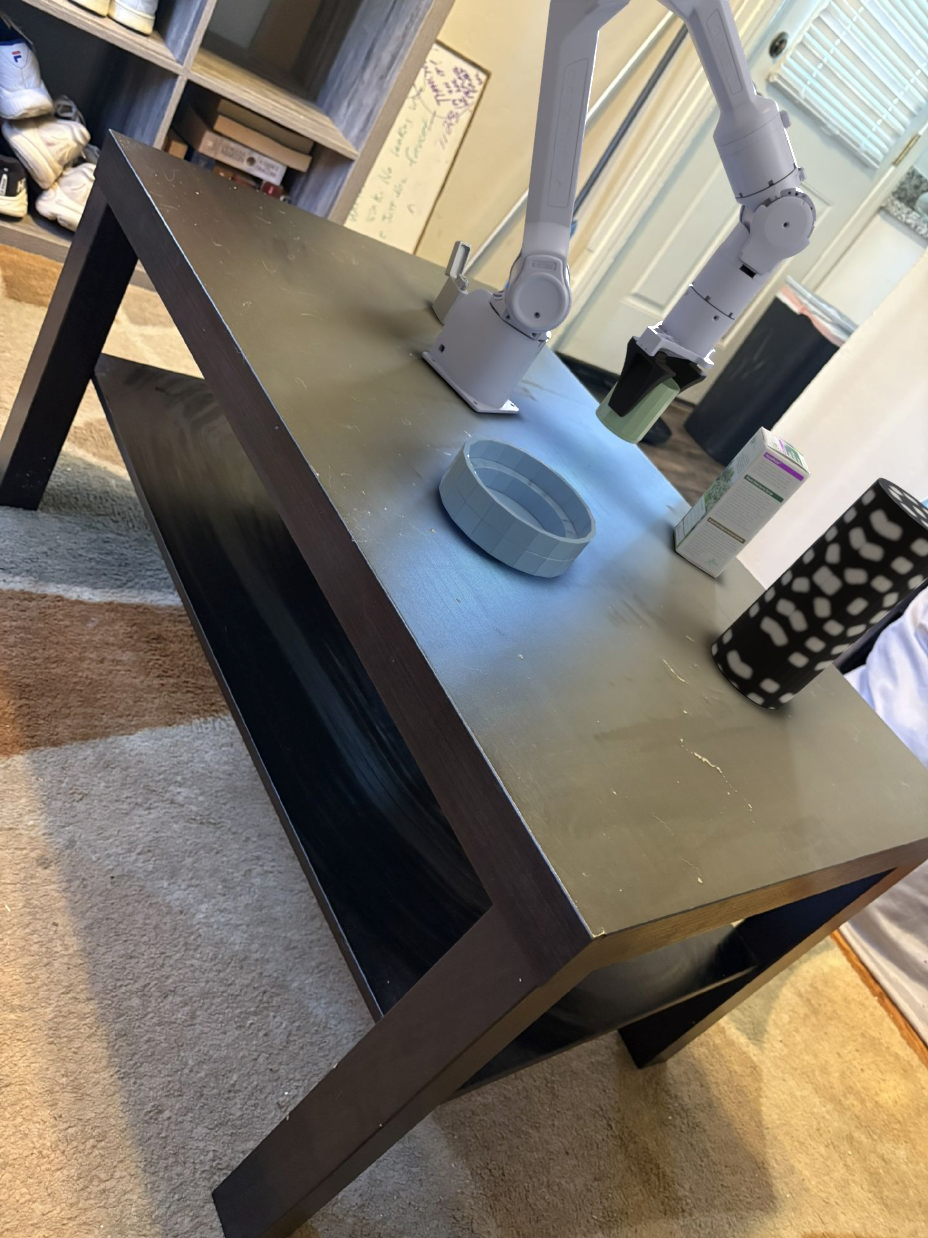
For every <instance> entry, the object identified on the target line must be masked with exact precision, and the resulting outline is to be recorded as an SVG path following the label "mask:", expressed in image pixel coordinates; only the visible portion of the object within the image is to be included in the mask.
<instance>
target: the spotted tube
mask: <svg viewBox="0 0 928 1238" xmlns="http://www.w3.org/2000/svg"><path fill="white" fill-rule="evenodd" d="M926 580H928V507H927V506H926V505H924V504H923V503H922V502H921V501H920V500H919V499H917V498H916V497H914V496H913V495H912V494H911V493H909V492H907V490H905V489H903V488H902V487H900V486H899V485H898V484H896V483H894V482H892V481H890V480H889V479H887V478H884V477H878V478H877V479H876V480H875V481H874V482H873V483H872V484H871V485H870V486H869V487H867V489H866V490H865V491H864V492H863V493H862V494H861V495H860V496H859V497H858V498H857V499H856V500H855V501H854V502H853V503H852V504H851V505H850V506H849V507H848V508H847V509H845V511H844V512H843V513H842V514H841V515H840V516H839V517H838V518H837V519H836V520H835V521H834V522H833V523H832V524H831V525H830V526H829V527H828V528H827V529H826V530H825V531H824V532H822V534H821V535H820V536H819V537H818V538H817V539H816V540H815V541H814V542H813V543H812V544H811V545H810V546H809V547H808V548H807V549H806V550H804V552H803V553H802V554H801V555H800V556H799V557H798V558H797V559H796V560H795V561H794V562H792V563H791V564H790V566H789V567H788V568H786V570H785V571H784V572H782V574H781V575H779V577H778V578H777V579H776V580H774V582H773V583H772V584H770V585H769V586H768V588H766V590H764V592H762V593H761V594H760V595H759V597H757V599H755V600H754V602H752V603H751V604H750V605H749V606H748V607H747V609H745V611H743V612H742V614H740V616H739V617H737V618H736V619H735V620H734V621H733V622H732V623H731V625H729V626H728V627H727V629H725V630H724V632H722V633H721V635H720V636H718V637H717V638H716V639H715V640H714V641H713V643H712V645H711V652H712V656H713V658H714V661H715V663H716V665H717V666H718V668H719V670H720V671H721V672H722V674H723V675H724V677H726V679H727V680H728V681H729V682H730V683H731V684H732V685H733V686H734V687H735V688H736V689H737V690H738V691H739V692H740V693H742V694H743V695H744V696H746V697H747V698H748V699H750V700H751V701H753V702H754V703H756V704H758V705H760V706H762V707H764V708H766V709H769V710H770V709H771V710H779V709H781V708H783V706H785V705H786V704H787V703H788V702H790V700H792V699H793V698H794V697H795V696H796V695H797V694H799V693H800V692H801V691H802V690H803V689H804V688H805V687H807V686H808V685H809V684H810V683H811V682H812V681H813V680H814V679H816V678H817V677H818V676H819V675H820V674H822V673H823V672H824V671H825V670H826V669H827V668H828V667H829V666H830V665H831V664H832V663H834V662H835V661H836V660H838V659H839V657H841V656H842V655H843V654H844V653H846V651H847V650H849V648H851V647H852V646H853V645H854V644H855V643H856V642H857V641H859V640H860V639H861V638H862V637H863V636H864V635H866V633H868V631H870V630H871V629H872V628H873V627H874V626H875V625H877V624H878V623H879V622H880V621H881V620H883V618H884V617H886V616H887V615H888V614H889V613H890V612H891V611H892V610H894V609H895V608H896V607H897V606H898V605H900V603H901V602H902V601H904V600H905V599H906V598H907V597H908V596H910V594H912V593H913V592H914V591H915V590H916V589H917V588H918V587H920V586H921V585H922V584H923V583H924V582H926Z"/></svg>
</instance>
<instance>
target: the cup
mask: <svg viewBox="0 0 928 1238" xmlns="http://www.w3.org/2000/svg"><path fill="white" fill-rule="evenodd" d="M617 382H618V380H617V381H616V382H615V383H614V385H613V387H612V388H611V390H609V392H608V394H607V395H606V396H605V397H604V398H603V400H602V401H601V403H600V404H599V405H598V407H597V408H596V409H595V411H594V413H595V416H596V418H597V419H598V420H599V422H600V423H601V424H602V425H603V426H604V427H605V428H606V429H607V430H608V431H609V432H611V433H612V434H613V435H615V436H616V437H618V438H619V439H621V440H623V441H625V442H627V443H629V444H631V445H637V444H639V442H640V441H642V440H643V438H644V437H645V436H646V434H647V433H648V432H649V431H650V429H651V428H652V427H653V425H654V424H655V423H656V422H657V421H658V420H659V418H660V417H661V416H662V414H663V413H664V412H665V411H666V409H667V408H668V407H669V405H671V403H672V402H673V401H674V400H675V398H676V397H678V395H679V394H678V393H679V392H680V388H679V386H678V384H677V383H676V382H675V381H674V380H673V379H672V378H669V379H668V380H666V381H664V382H663V383H661V384H660V385H658V386H657V387H656V388H654V389H653V390H652V391H651V392H650V393H648V394H647V395H646V396H645V397H644V398H643V399H642V400H641V401H640V402H639V403H638V405H637V406H636V407H635V408H634V409H633V410H632V411H630V412H629V413H628V414H627V415H625V416H624V417H620V416H619V415H618V414H616V413H615V412H614V411H613V410H612V409H611V408H610V407H609V406H608V402H609V400H610V397H611V395H612V393H613V391H614V388H615V386H616V384H617ZM677 394H678V395H677Z"/></svg>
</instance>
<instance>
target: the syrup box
mask: <svg viewBox="0 0 928 1238" xmlns="http://www.w3.org/2000/svg"><path fill="white" fill-rule="evenodd" d="M811 476H812V473H811V472H810V469H809V467H808V464H807V462H806V460H805V457H804V454H803V453H801V452H800V451H799V449H797V448H795V446H793V445H792V444H791V443H789V442H788V441H786V440H785V439H784V438H782V437H781V436H779V435H777V434H775V433H774V432H772V431H770V430H768V429H766V428H765V427H764V426H761V427H759V429H758V430H757V431H756V432H755V433H754V435H753V436H752V437H751V438H750V439H749V440H748V441H747V442H746V444H745V445H744V446H743V447H742V448H741V449H740V451H739V452H738V453H737V454H736V455H735V456H734V458H733V459H732V460H731V461H730V462H729V463H728V465H726V467H725V468H724V469H723V471H722V472H721V473H720V474H719V475H718V476H717V478H715V480H714V481H713V482H712V483H711V484H710V486H709V487H708V488H707V489H706V490H705V492H704V493H702V495H701V496H700V497H699V498H698V500H697V501H696V502H694V504H693V505H692V507H691V508H690V509H689V510H688V512H687V513H685V515H684V516H683V517H682V519H680V521H678V523H677V525H675V526H674V527H673V534H674V535H673V536H674V549H675V552H676V553H678V554H679V555H680V556H681V557H683V558H684V559H685V560H686V561H688V562H689V563H690V564H692V565H694V566H696V567H697V568H698V569H700V570H702V571H704V572H705V573H706V574H708V575H710V576H711V577H713V578H714V579H717V578H718V577H719V576H720V575H721V574H722V572H723V571H724V570H725V569H726V568H727V567H728V566H729V565H730V564H731V563H733V561H734V560H735V559H736V558H737V557H738V556H739V554H740V553H741V552H742V551H743V550H744V549H745V548H746V547H747V546H748V544H750V543H751V541H752V540H754V538H755V537H756V536H757V535H758V534H759V533H760V532H761V530H763V528H765V526H766V525H767V524H768V523H769V522H770V521H771V519H772V518H774V517H775V515H777V513H778V512H779V511H780V510H781V509H782V507H783V506H784V505H785V504H786V503H787V502H788V501H789V500H790V499H791V498H792V497H793V496H794V494H796V493H797V491H798V490H799V489H800V488H801V487H802V486H803V485H804V484H805V483H806V482H807V480H809V478H810V477H811Z"/></svg>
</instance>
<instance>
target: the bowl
mask: <svg viewBox="0 0 928 1238" xmlns="http://www.w3.org/2000/svg"><path fill="white" fill-rule="evenodd" d="M438 490H439V494H440V498H441V502H442V504H443V506H444V508H445V510H446V511H447V513H448V514H449V515H448V516H450V518H451V520H453V522H454V523H455V524H456V525H457V526H458V527H459V529H461V531H462V532H463V533H464V534H465V535H466V536H467V537H468V538H469V539H470V540H471V541H472V542H474V543H475V544H476V545H477V546H479V547H480V548H481V549H482V550H484V551H485V552H486V553H487V554H489V555H490V556H492V557H493V558H495V559H496V560H498V561H500V562H501V563H503V564H505V565H507V566H509V567H510V568H513V569H515V570H518V571H519V572H523V573H525V574H528V575H531V576H535V577H540V578H541V577H543V578H550V579H551V578H555V577H559V576H563V575H564V574H565V573H566V572H567V570H568V569H569V568H570V567H571V566H572V565H573V563H574V562H575V561H576V560H577V558H578V557H579V556H580V554H581V553H582V552H583V551H584V550H585V548H586V547H587V546H588V545H589V544H590V543H591V541H592V540H593V539H594V537H595V536H596V535H597V522H596V519H595V518H594V515H593V513H592V511H591V509H590V506H589V505H588V504H587V503H586V501H585V500H584V499H583V497H582V496H581V494H579V492H578V491H577V490H576V489H575V488H574V487H573V486H572V485H571V484H570V482H568V481H567V480H566V479H565V478H564V477H563V476H562V475H561V474H560V473H558V472H557V471H556V470H555V469H554V468H552V467H551V466H549V465H548V463H546V462H544V461H543V460H542V459H540V458H538V457H536V456H535V455H534V454H532V453H530V452H528V451H527V450H525V449H523V448H522V447H519V446H518V445H515V444H512V443H511V442H508V441H506V440H502V439H499V438H496V437H492V436H473V437H472V438H469V439H468V440H466V441H464V443H463V445H462V447H461V448H460V450H459V451H458V453H457V454H456V455H455V457H454V459H453V460H452V461H451V463H450V465H449V466H448V467H447V469H446V471H445V472H444V474H443V475H442V477H441V479H440V483H439V486H438Z"/></svg>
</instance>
